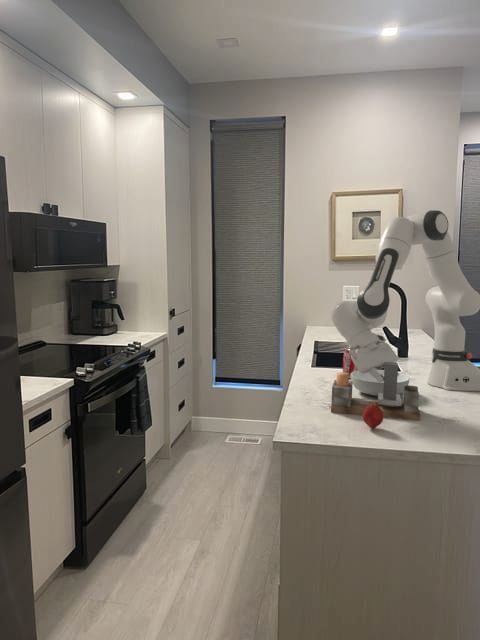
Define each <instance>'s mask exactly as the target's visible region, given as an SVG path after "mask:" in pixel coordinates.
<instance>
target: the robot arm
mask: <svg viewBox="0 0 480 640" xmlns="http://www.w3.org/2000/svg"><path fill="white" fill-rule="evenodd" d="M448 230H449V221H448V217H447V215H446V214H445V213H443V212H442V211H440V210H437V209H436V210H432V209H431V210H429V211H421V212H417V213H413V214H411V215H408V216H407V215H406V217H404V216H395V217H393V218H392V219H390V220H389V221H388V222H387V224H386V226H385V228H384V229H383V231H382V234H381V235H380V238H379V241H378V244H377V248H376V251H375V258H374V259H375V266H374V269H373V272H372V275H371V277H370V280H369V281H368V283H367V284H366V285H365V286H364V287H363V289H362V290H361V291H360V292H359V294H358V295H357V299H356V301H342V302H339V304H337V305H336V306H335V307H334V309H333V310H332V311H331V316H330V317H331V318H330V319H331V321H332V324H333V325H334V327H335V329H337V331H338V333H339V334H340V335H341V337H343V338H344V339H345V342H346V344H347V345H348V346H349V347H348V348H350V349H349V353H350V355H351V359H352V361H353V363H354V364H355V366H356V368H357V369H358V371H359V372H361V373H362V374H364V373H367V372H369V373H370V375H371V376H373V377H374V378H376V379H377V381H378V382H382V381H383V380H384V379H385V378H384V377H383V375H380V374H379V373H378V372H377V370H382V369H384V366H385V362H393V363H398V361H399V358H398V355H397V353H396V352H395V351H394V349H393V348H392V346H390V344H389V343H387V342H386V340H387V339H386V338H385V336H383V335H381V334H377V333H375V332H373V331H371V330H374V329H375V328H376V329H377V327H380V326H382V325H383V324H384V322H385V321H386V319H387V314H388V311H389V309H388V308H389V305H390V293H389V286H390V283H391V281H392V278H393V275H394V273H395V271H396V270H399V269H401V268H403V266H404V264H405V263H406V261H407V259H408V257H409V254H410V251H411V248H412V246H415V245H416V246H417V245H421V250H422V254H423V259H424V262H425V265H426V269H427V272H428V275H429V277H430V279H431V280H432V281H433V282H434V283H436V286H434V287H431V288H430V289H428V291H427V292H426V294H425V303H426V306H427V307H428V309H429V310H430V312H431V316H432V320H433V324H434V325H433V326H434V337H433V339H434V340H433V347H432V351H431V362H432V363H431V369H430V372H429V373H430V374H429V376H428V379H427V382H426V383H427V384H429V385H431V386H433V387H436V388H440V389H444V390H446V391H461V392H462V391H468V392H480V368H479V367H477V365H475V364H474V363H473V362H471V361H470V360H471V359H472V358H473V354H472V353H471V352H469V351H467V350H465V344H466V343H465V342H466V329H465V327H464V326H463V325H462V323H461V320H460V317H468V316H473V315H475V314H477V313H478V312H479V310H480V294H479V292H478V291H477V290H475V289H474V288H473V287H472V285H470V283H469V282H468V279H467V278H466V276H465V275H464V273H463V271H462V268H461V267H460V264H459V261H458V257H457V254H456V250H455V247H454V243H453V240H452V237H451V236H450V233H449V231H448ZM399 373H400V372H398V376H399Z"/></svg>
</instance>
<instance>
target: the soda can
mask: <svg viewBox="0 0 480 640" xmlns="http://www.w3.org/2000/svg"><path fill="white" fill-rule="evenodd" d="M349 349H350V347H346V348H345V350H344V352H343V357H342V372H343V373H348V374H349V378H351V373H352V372H354V371H358V369H357V368H356V366H355V364H354V363H353V361H352V359H351V355H350V353H349Z"/></svg>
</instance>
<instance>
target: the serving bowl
mask: <svg viewBox="0 0 480 640" xmlns="http://www.w3.org/2000/svg"><path fill="white" fill-rule="evenodd" d="M377 372H378V373H379V374H380V375H383V377H384V370H382V369H378V370H377ZM398 373H399V376H397V394H398V395H401V394H403V391H404V385H407V386H409V384H410V379H411V378H410V377H409V376H408V375H406V374H403V373H400V372H398ZM350 381H353V384H352V386H353V387H354V388H355V389H356V390H358V391H359V392H361V393H363V394H366V395H369V396H371V397H377V398H378V393H383V385H384V380H383V381H382V382H378V381H377V379H376V378H374V377H373V376H371V375H370V373H369V372H367V373H364V374H362V373H361V372H359V371H354V372H352V373H351V379H350Z"/></svg>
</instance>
